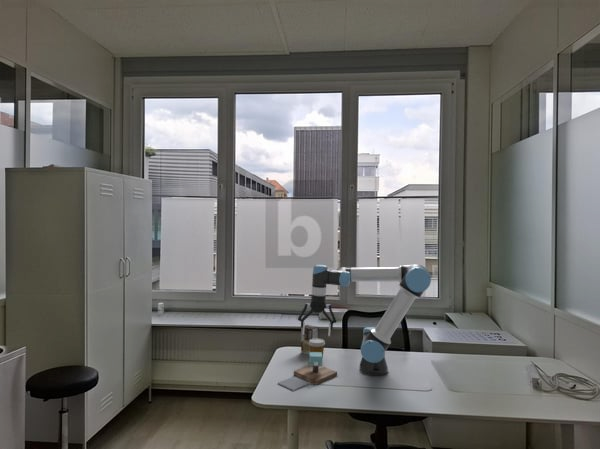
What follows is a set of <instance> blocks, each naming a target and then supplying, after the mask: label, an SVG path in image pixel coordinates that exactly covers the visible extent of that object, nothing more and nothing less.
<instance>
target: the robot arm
mask: <svg viewBox="0 0 600 449" xmlns="http://www.w3.org/2000/svg"><path fill="white" fill-rule="evenodd" d="M328 268H329V267H328V266H327V265H325V264H314V265H313V269H312V279H311V280H312V283H311V297H310V298H311V299H310V303H308V302H304V307H303V308H302V310H301V312H300V313H299V315H298V317H297V320H298V321H299V322H300V329H301V328H303V335H304V328H305V325H306V324H305V322H306V319H307V318H308V317H309V316H311V315H312V314H313V313H318V314H321V313H323V314H324V316H325V318H326V319H327V320H328V321H329V322H328V330H327V331H328V334H327V336H328V337H330V336H331V330H333V328H334V324H335V323H337V322H338V321H337V319H336V317H335V315H334V314H335V313H334V312H333V309H332V305H331V303H329V304H326V300H327V299H326V298H327V296H326V294H327V285H331V286H332V285H333V286H340V287H349V286H350V284H351V282H373V283H374V282H378V283H380V282H382V283H383V282H385V283H386V282H388V283H389V282H394V283H395V282H397V283H399V285H398V286H399V290H398V292H397V293H396V295H395V297H394V298H393V300H392V301H391V302H390V304H389V305H388V307H387V309H386V310H385V312H384V314H383V315H382V317H381V318H380V320H379V322H378V323H377V325H376V326H375V327H374V326H373V327H371V326H369V327H368V326H366V327H364V328H363V332H362V334H363V339H362V342H361V345H360V353H361V360H360V363H359V367H358V368H359V372H360V373H362V374H365V375H369V376H376V377H377V376H384V375H387V374H388V372H389V367H388V363H387V361H386V360H387V359H386V355H385V354H386V351H387V350H388V348H389V346H391V344H392V341H391V338H392V336H393V334H394V333H395V332H396V330H397V328H398V327H399V325H400V324H401V322H402V321H403V319H404V317H405V315H406V314H407V312H408V311H409V309H410V308H411V306H412V304H413V303H414V301H415V300H416V299H420V298H421V296H422V295H423V294H424V292H425V291H427V290H428V289H429V287H430V285H431V282H432V277H431V274H430V272H429V271H428V270H427V268H426V267H425V266H424V265H423V264H422V265H421V264H418V263H416V264H415V263H414V264H406V265H405V264H404V265H402V264H401V265H399V266H398V267H397V266H395V267H393V266H391V267H390V266H389V267H386V266H385V267H381V266H380V267H346V266H345V267H344V266H342V267H341V266H340V267H338V268H337V269H336V270H333V269H328ZM309 307H310V309H309V311H308V312H307V313H306V314H305V312H306V311H307V308H309ZM326 308H327V310H328V311H329V313H330V315H331V317H332V318H331V317H330V315H329V314H328V313H327V312H326ZM304 314H305V315H304Z"/></svg>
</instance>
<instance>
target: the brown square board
mask: <svg viewBox="0 0 600 449" xmlns="http://www.w3.org/2000/svg"><path fill="white" fill-rule="evenodd" d="M293 376H294V377H297V378H299V379H301V380H304V381H306V382H308V383H310V382H311V383H312V384H314V385H319V384H321V383H323V382H325V381H328V380H330V379H332V378H334V377H337V376H338V371H336V370H333V369H331V368H329V367H326V366H323V365H322V366H310V364H309V365H306V366H304V367H301V368H299V369H296V370H294V371H293Z"/></svg>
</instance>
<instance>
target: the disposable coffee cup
mask: <svg viewBox="0 0 600 449" xmlns="http://www.w3.org/2000/svg"><path fill="white" fill-rule="evenodd" d="M325 344H326V341H325V339H323V338H313V339H310V340H309V346H310V352H322V359H323V356H324V351H325V350H324V349H325Z"/></svg>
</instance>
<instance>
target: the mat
mask: <svg viewBox="0 0 600 449" xmlns="http://www.w3.org/2000/svg"><path fill="white" fill-rule="evenodd" d="M277 384H278V385H280V386H282V387H283V388H285V389H288V390H290V391H293V392H295V391H297V390H299V389H302V388H304V387H306V386H309V385H310V382H309V381H306V380H304V379H302V378H299V377H297V376H291V377H289V378H287V379H283V380H281V381H279V382H277Z"/></svg>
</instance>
